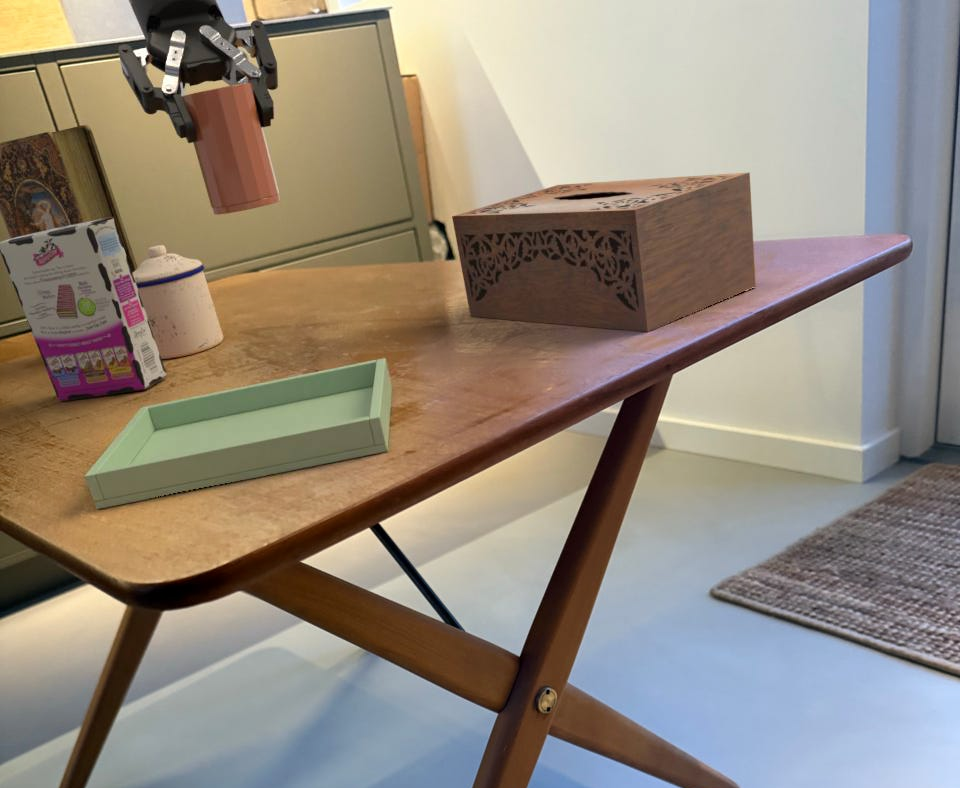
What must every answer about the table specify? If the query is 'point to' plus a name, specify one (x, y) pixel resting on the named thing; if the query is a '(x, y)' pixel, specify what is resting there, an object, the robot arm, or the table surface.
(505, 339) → the table surface
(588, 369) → the table surface
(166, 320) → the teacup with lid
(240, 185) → the cup
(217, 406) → the tray
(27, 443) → the table surface
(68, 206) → the book
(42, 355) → the candy bar box
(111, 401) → the table surface
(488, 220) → the tissue box cover
